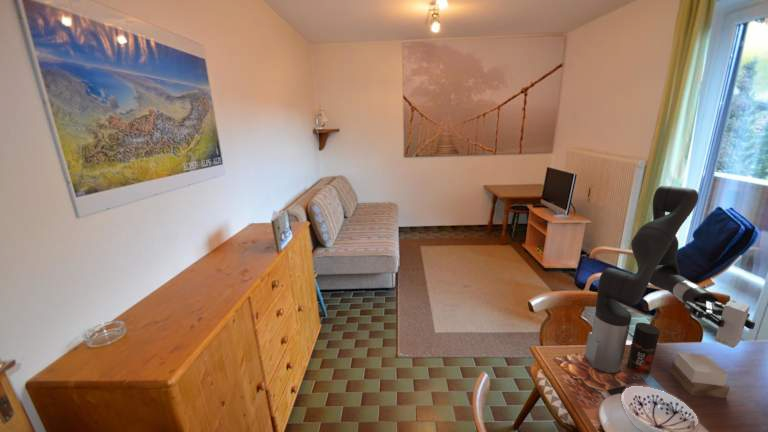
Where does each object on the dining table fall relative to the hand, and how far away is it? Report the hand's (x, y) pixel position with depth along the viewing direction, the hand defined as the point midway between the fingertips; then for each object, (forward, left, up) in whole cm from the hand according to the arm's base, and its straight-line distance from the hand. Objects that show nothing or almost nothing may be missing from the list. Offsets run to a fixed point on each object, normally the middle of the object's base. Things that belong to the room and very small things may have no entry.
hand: (737, 325), depth 93 cm
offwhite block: (-8, -2, -16) cm, 18 cm away
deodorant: (-21, +3, -20) cm, 29 cm away
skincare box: (0, +2, -7) cm, 7 cm away
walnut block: (-8, -2, -20) cm, 22 cm away
